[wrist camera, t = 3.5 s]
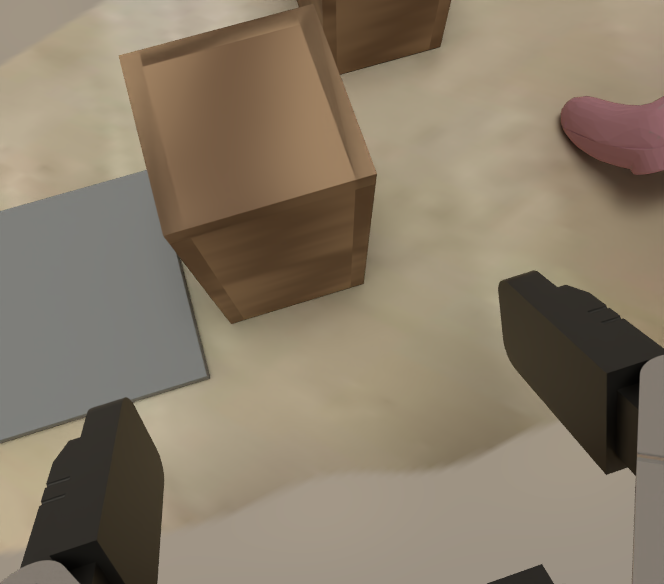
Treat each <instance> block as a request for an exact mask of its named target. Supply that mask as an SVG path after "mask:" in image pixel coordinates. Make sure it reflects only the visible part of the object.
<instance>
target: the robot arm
mask: <svg viewBox="0 0 664 584" xmlns="http://www.w3.org/2000/svg"><path fill="white" fill-rule="evenodd" d="M498 293H499V303H500V313H501V322H502V332H503V341H504V346H505V350H506V352H507V355H508V357H509V360H510V361H511V363H512V365H513V366H514V368H515V369H516V370H517V371H518V373H519V374H520V375H521V376H522V377H523V378H524V380H525V381H526V382H527V383H528V384H529V385H530V387H531V388H532V389H533V390H534V391H535V392H536V394H537V395H538V396H539V397H540V398H541V399H542V401H543V402H544V403H545V404H546V405H547V406H548V408H549V409H550V410H551V411H552V412H553V413H554V415H555V416H556V417H557V418H558V419H559V420H560V422H561V423H562V424H563V425H564V426H565V427H566V429H567V430H568V431H569V432H570V433H571V434H572V436H573V437H574V438H575V439H576V440H577V441H578V442H579V444H580V445H581V446H582V447H583V448H584V450H585V451H586V452H587V453H588V454H589V455H590V457H591V458H592V459H593V460H594V461H595V462H596V464H597V465H598V466H599V467H600V468H601V469H602V470H603V471H604V473H605V474H606V475H607V474H610V473H613V472H616V471H618V470H621V469H624V468H627V467H628V468H629V469H630V470H631V471H632V472H633V473H634V475H635V476H636V487H635V515H634V542H633V568H632V584H664V348H662V347H661V346H660V345H658V344H657V343H656V342H654V341H653V340H652V339H650V338H649V337H648V336H646V335H645V334H644V333H642V332H641V331H640V330H638V329H637V328H636V327H634V326H633V325H632V324H630V323H629V322H628V321H626V320H625V319H624V318H623V319H621V318H620V315H618V314H617V313H616V312H614V311H613V310H612V309H610V308H608V309H607V307H606V305H605V304H604V303H602V302H601V301H600V300H598V299H597V298H596V297H594V296H593V295H592V294H590V293H589V292H586V291H583V290H580V289H577V288H574V287H571V286H568V285H564V286H560V287H556V286H555V285H554V284H553V283H551V282H550V281H549V280H548V279H546V278H545V277H544V276H543V275H541V274H540V273H539V272H537V271H530V272H527V273H524V274H521V275H518V276H514V277H511V278H508V279H505V280H502V281H500V283H499V286H498ZM46 484H47V488H45V490H44V493H43V496H42V500H41V503H42V505H41V506H39V509H38V512H37V516H36V519H35V522H34V525H33V529H32V532H31V535H30V538H29V542H28V545H27V548H26V551H25V554H24V558H23V561H22V564H21V568H20V569H19V570H17V571H16V572H14V573H12V574H11V575H10V576H8V577H7V578H6V579H4V580H3V581H2V582H1V583H0V584H157V580H158V564H159V550H160V535H161V521H162V506H163V491H164V472H163V466H162V462H161V459H160V456H159V453H158V451H157V449H156V447H155V445H154V443H153V441H152V439H151V437H150V435H149V433H148V431H147V429H146V427H145V425H144V424H143V422H142V420H141V418H140V416H139V414H138V412H137V410H136V408H135V406H134V404H133V403H132V401H131V400H130V399H129V398H127V397H125V398H122V399H118V400H115V401H112V402H109V403H106V404H102V405H99V406H96V407H93V408H90V409H89V410H88V412H87V415H86V419H85V422H84V426H83V430H82V434H81V437H80V438H77V439H73V440H70V441H69V442H68V443H67V444H66V446H65V447H64V448H63V450H62V451H61V452H60V454H59V455H58V456H57V458H56V459H55V460H54V462H53V464H52V467H51V471H50V474H49V477H48V480H47V483H46ZM487 584H554V583H553V582H552V580H551V578H550V577H549V575H548V573H547V572H546V570H545V568H544V567H543V565H542V564H541V565H538V566H535V567H533V568H530V569H527V570H524V571H521V572H519V573H516V574H513V575H510V576H507V577H505V578H502V579H499V580H496V581H493V582H490V583H487Z"/></svg>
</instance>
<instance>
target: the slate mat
mask: <svg viewBox="0 0 664 584" xmlns="http://www.w3.org/2000/svg"><path fill="white" fill-rule="evenodd" d="M209 378H210V376H209V372H208V368H207V364H206V360H205V356H204V352H203V348H202V344H201V340H200V336H199V332H198V328H197V324H196V320H195V316H194V312H193V308H192V304H191V300H190V296H189V293H188V289H187V285H186V281H185V277H184V273H183V269H182V265H181V261H180V257H179V256H178V255H177V253H176V252H175V251H174V249H173V248H172V247H171V245H170V244H169V243H168V242H167V240H166V239H165V238H164V236H163V234H162V230H161V225H160V221H159V217H158V213H157V209H156V205H155V201H154V197H153V193H152V189H151V185H150V181H149V177H148V173H147V170H145V171H141V172H138V173H134V174H131V175H127V176H124V177H120V178H116V179H113V180H109V181H106V182H102V183H99V184H95V185H92V186H88V187H85V188H81V189H77V190H74V191H70V192H67V193H63V194H60V195H56V196H53V197H49V198H46V199H42V200H38V201H35V202H31V203H28V204H24V205H21V206H17V207H14V208H10V209H7V210H3V211H0V443H3V442H6V441H9V440H13V439H16V438H19V437H22V436H25V435H29V434H32V433H35V432H38V431H42V430H45V429H48V428H51V427H54V426H58V425H61V424H64V423H67V422H71V421H74V420H77V419H80V418H83V417H86V415H87V412H88V410H89V409H90V408H93V407H96V406H99V405H102V404H106V403H109V402H112V401H115V400H118V399H122V398H125V397H127V398H129V399H130V400H131V401H132V402H135V401H138V400H141V399H145V398H148V397H151V396H154V395H157V394H161V393H164V392H167V391H170V390H174V389H177V388H180V387H183V386H186V385H190V384H193V383H196V382H199V381H203V380H206V379H209Z"/></svg>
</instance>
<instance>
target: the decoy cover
mask: <svg viewBox="0 0 664 584" xmlns="http://www.w3.org/2000/svg"><path fill="white" fill-rule="evenodd" d="M297 2H298V5H299V7H303V6H307V5H311V4H314V7H315V10H316V12H317V15H318V18H319V20H320V23H321V26H322V28H323V31H324V34H325V36H326V39H327V42H328V44H329V47H330V50H331V52H332V55H333V58H334V60H335V63H336V66H337V68H338V71H339V74H343V73H347V72H350V71H354V70H358V69H361V68H365V67H368V66H372V65H376V64H379V63H383V62H386V61H390V60H394V59H397V58H401V57H405V56H408V55H412V54H415V53H419V52H423V51H426V50H430V49H433V48H437V47H440V46H441V41H442V37H443V33H444V29H445V24H446V20H447V16H448V12H449V7H450V3H451V0H297Z"/></svg>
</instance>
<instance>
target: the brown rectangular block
mask: <svg viewBox="0 0 664 584" xmlns="http://www.w3.org/2000/svg"><path fill="white" fill-rule="evenodd" d="M119 59H120V63H121V67H122V71H123V75H124V79H125V83H126V87H127V91H128V95H129V99H130V104H131V108H132V112H133V116H134V120H135V124H136V128H137V132H138V136H139V140H140V144H141V148H142V152H143V156H144V160H145V164H146V169H147V173H148V177H149V181H150V185H151V189H152V193H153V197H154V201H155V205H156V209H157V213H158V217H159V221H160V225H161V230H162V234H163V236H164V238H165V239H166V240H167V242H168V243H169V244H170V245H171V247H172V248H173V249H174V251H175V252H176V253H177V255H178V256H179V257H180V258H181V260H182V261H183V262H184V264H185V265H186V266H187V267H188V269H189V270H190V271H191V273H192V274H193V275H194V276H195V278H196V279H197V280H198V282H199V283H200V284H201V286H202V287H203V288H204V289H205V291H206V292H207V293H208V295H209V296H210V297H211V298H212V300H213V301H214V302H215V304H216V305H217V306H218V307H219V309H220V310H221V311H222V313H223V314H224V315H225V317H226V318H227V319H228V320H229V322H230V323H231V324H233V323H236V322H239V321H242V320H246V319H249V318H252V317H255V316H259V315H262V314H265V313H269V312H272V311H275V310H278V309H282V308H285V307H288V306H292V305H295V304H298V303H301V302H305V301H308V300H311V299H315V298H318V297H321V296H324V295H328V294H331V293H334V292H338V291H341V290H344V289H347V288H351V287H354V286H357V285H361V284H364V275H365V267H366V259H367V251H368V242H369V234H370V226H371V218H372V210H373V201H374V193H375V185H376V177H377V173H376V170H375V167H374V165H373V162H372V159H371V157H370V154H369V151H368V149H367V146H366V143H365V141H364V138H363V135H362V133H361V130H360V127H359V125H358V122H357V119H356V117H355V114H354V111H353V109H352V106H351V103H350V101H349V98H348V95H347V93H346V90H345V87H344V85H343V82H342V79H341V77H340V74H339V71H338V68H337V66H336V63H335V60H334V58H333V55H332V52H331V50H330V47H329V44H328V42H327V39H326V36H325V34H324V31H323V28H322V26H321V23H320V20H319V18H318V15H317V12H316V10H315V7H314V4H311V5H307V6H303V7H299V8H296V9H292V10H288V11H284V12H281V13H277V14H273V15H269V16H266V17H262V18H258V19H254V20H251V21H247V22H243V23H239V24H236V25H232V26H228V27H224V28H221V29H217V30H213V31H209V32H206V33H202V34H198V35H194V36H191V37H187V38H183V39H179V40H176V41H172V42H168V43H164V44H161V45H157V46H153V47H149V48H146V49H142V50H138V51H134V52H131V53H127V54H123V55H119Z"/></svg>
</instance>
